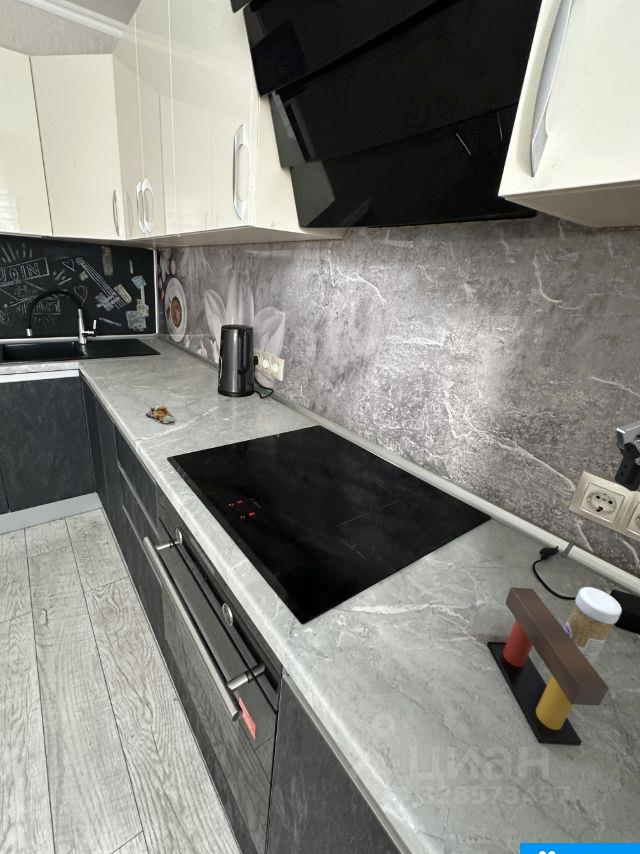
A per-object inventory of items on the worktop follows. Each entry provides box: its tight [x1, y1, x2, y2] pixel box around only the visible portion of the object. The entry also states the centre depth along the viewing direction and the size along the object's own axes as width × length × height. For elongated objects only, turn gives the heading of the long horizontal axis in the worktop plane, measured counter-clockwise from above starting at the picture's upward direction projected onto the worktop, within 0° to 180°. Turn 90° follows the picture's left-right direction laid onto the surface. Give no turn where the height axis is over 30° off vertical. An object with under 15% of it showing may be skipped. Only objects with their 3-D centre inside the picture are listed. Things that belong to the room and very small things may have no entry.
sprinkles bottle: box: [562, 586, 623, 666], centre depth 53 cm, size 5×5×14 cm
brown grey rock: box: [145, 405, 176, 424], centre depth 133 cm, size 7×12×4 cm, turn 49°
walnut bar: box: [504, 587, 610, 707], centre depth 49 cm, size 14×3×3 cm, turn 179°
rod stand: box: [486, 618, 582, 746], centre depth 51 cm, size 5×13×8 cm, turn 179°
